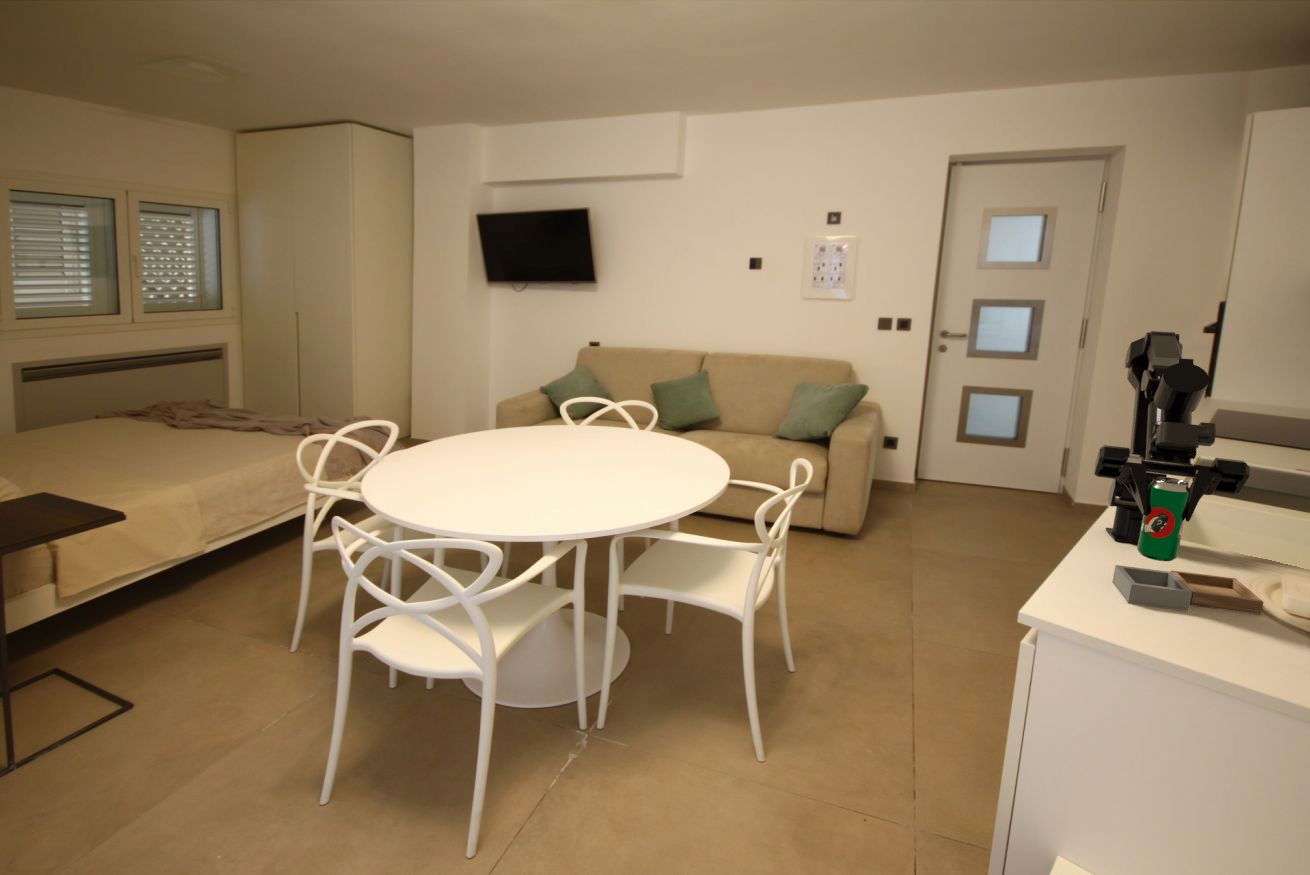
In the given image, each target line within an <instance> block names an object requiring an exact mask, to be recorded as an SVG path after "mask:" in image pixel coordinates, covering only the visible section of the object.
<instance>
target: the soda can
mask: <svg viewBox="0 0 1310 875" xmlns="http://www.w3.org/2000/svg"><path fill="white" fill-rule="evenodd" d="M1189 488H1190V485H1189V482H1187V481H1185V480H1182V479H1179V478H1174V477H1169V476H1168V477H1155V478H1153V481H1152V482H1151V483H1150V484H1149V488H1148V494H1147V499H1148V508H1147V514H1146V515H1143V520H1142V525H1141V531H1140V536H1139V541H1138V543H1137V547H1136V549H1137V551H1138V553H1139V554H1140V555H1141V556H1142V557H1145V558H1147V559H1151V560H1153V561H1159V562H1171V561H1174V560H1175V559H1177V558H1178V555H1179V550H1180V546H1181V545H1180V544H1181V540H1182V534H1183V530H1184V525H1185V522H1186V520H1185V516H1186V511H1187V506H1188V501H1189V496H1190V489H1189Z"/></svg>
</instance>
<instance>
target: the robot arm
mask: <svg viewBox="0 0 1310 875" xmlns="http://www.w3.org/2000/svg"><path fill="white" fill-rule="evenodd" d="M1183 348H1184V347H1183V344H1182V343H1181V341H1180V333H1176V332H1174V331H1159V330H1158V331H1157V330H1155V331H1154V330H1150V331H1149V332H1148V331H1147V332H1145V334H1144V336H1143V337H1141V338H1139V339H1137V340H1134V341H1132V342H1130V344H1129V347H1128V348H1127V350H1126V354H1125V361H1124V369H1127V375H1126V376H1127V378H1126V380H1128V383H1130V385H1131V386H1132V388H1133V389H1134V391H1135V392H1134V394H1135V395H1134V405H1133V414H1132V424H1131V425H1132V426H1131V433H1130V434H1131V436H1130V447H1125V446H1124V447H1123V446H1114V445H1106V444H1104V445H1103V446H1100V448H1099V449H1098V452H1097V456H1096V459H1095V463H1094V476H1096V477H1099V478H1104V479H1105V478H1106V479H1112V482H1111V485H1110V487H1109V492H1108V499H1107V501H1108V504H1109V506H1110V507H1116V508H1115V512H1114V518H1113V524H1112V527H1105V532H1106V533H1107V534H1109V535H1110V537H1111V538H1112V539H1113V540H1114V541H1116V542H1123V543H1133V544H1138V541H1139V536H1140V531H1141V525H1142V520H1143V515H1146V514H1147V508H1148V499H1147V494H1148V488H1149V484H1150V483H1151V482H1152V481H1153V478H1155V477H1167V476H1173V477H1174V476H1175V477H1183V478H1190V479H1192V482H1191V484H1190V485H1189V489H1190V496H1189V501H1188V506H1187V511H1186V516H1185V522H1187V523H1188V522H1190V520H1191V519H1192V518H1193V514H1194V512H1195V510H1196V508H1197V506H1198V504H1199V501H1200V500H1201V499H1202V497H1203V496H1205V495H1206V496H1211V495H1213V494H1214V493H1221V494H1229V495H1235V494H1239V493H1240V492H1241V491H1242V489H1243V487H1244V485H1245V484H1246V483H1247V481H1248V480H1249V478H1250V476H1251V475H1250V474H1251V473H1250V471H1251V470H1250V466H1249V464H1248V463H1247V462H1246V461H1245V460H1240V459H1232V458H1222V457H1215V458H1214V460H1213V462H1212V463H1211V465H1210V466H1207V465H1199V464H1194V463H1192V460H1195V459H1196V456H1197V449H1198V448H1199V446H1203V447H1211V446H1212V445H1213V444H1215V441H1216V434H1217V432H1216V431H1217V430H1216V428H1217V427H1216V423H1213V422H1205V421H1203V422H1200V423H1199V424H1193V423H1192V422H1193V420H1192V418H1193V416H1192V415H1193V412H1195V411H1196V410H1197V408H1198V406H1199V404H1200V402H1201V400H1202V398H1203V396H1204V393H1205V392H1208V391H1209V386H1210V375H1208V373H1207V371H1206V370H1205V369H1204V368H1202V367H1200V366H1198V365H1196V364H1194V359H1193V358H1183Z"/></svg>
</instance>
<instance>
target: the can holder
mask: <svg viewBox="0 0 1310 875" xmlns="http://www.w3.org/2000/svg"><path fill="white" fill-rule="evenodd" d="M1112 576H1113V577H1112V581H1111V582H1112V584H1113V585H1114V587H1115V588H1116V590H1118V592H1119V593H1120V595H1121V597H1123V598H1124V599H1125V601H1126V602H1127V603H1128V604H1132V605H1133V604H1135V605H1142V606H1147V607H1156V608H1165V609H1170V610H1179V611H1184V612H1188V611H1189V610H1190V601H1191V596H1192V592H1191V591H1190V590H1189V589H1188V588H1187V587H1186V586H1185V585H1184V584H1183V583H1182V582H1181V581H1180V580H1179V579H1178V578H1177V577H1176V576H1175V574H1174V573H1173V572H1171V571H1168V570H1158V569H1152V568H1151V569H1150V568H1143V567H1135V566H1127V565H1118V564H1115V565H1114V572H1113V575H1112Z"/></svg>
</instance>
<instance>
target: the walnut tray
mask: <svg viewBox="0 0 1310 875" xmlns="http://www.w3.org/2000/svg"><path fill="white" fill-rule="evenodd" d="M1170 572H1173V573H1174V574H1175V576H1176V577H1177V578H1178V579H1179V580H1180V581H1181V582H1182V583H1183V584H1184V585H1185V586H1186V587H1187V588H1188V589H1189V590H1190V591H1191V592H1192V596H1191V601H1190V605H1191V606H1196V607H1201V608H1202V607H1203V608H1211V609H1217V610H1225V611H1230V612H1231V611H1232V612H1237V613H1240V612H1241V613H1247V614H1255V615H1261V614H1262V610H1263V606H1264V604H1265V602H1264V601H1263V600H1262V599H1261V598H1260V597H1258V596H1257V595H1256V594H1255V593H1254V592H1252V590H1251V589H1249V588H1248V587H1247V586H1245V584H1243V583H1242V581H1241V582H1240V581H1239V580H1238V579H1237V578H1235V577H1226V576H1219V575H1213V574H1211V575H1210V574H1204V573H1195V572H1188V571H1187V572H1185V571H1179V570H1170ZM1190 605H1189V606H1190Z"/></svg>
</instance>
